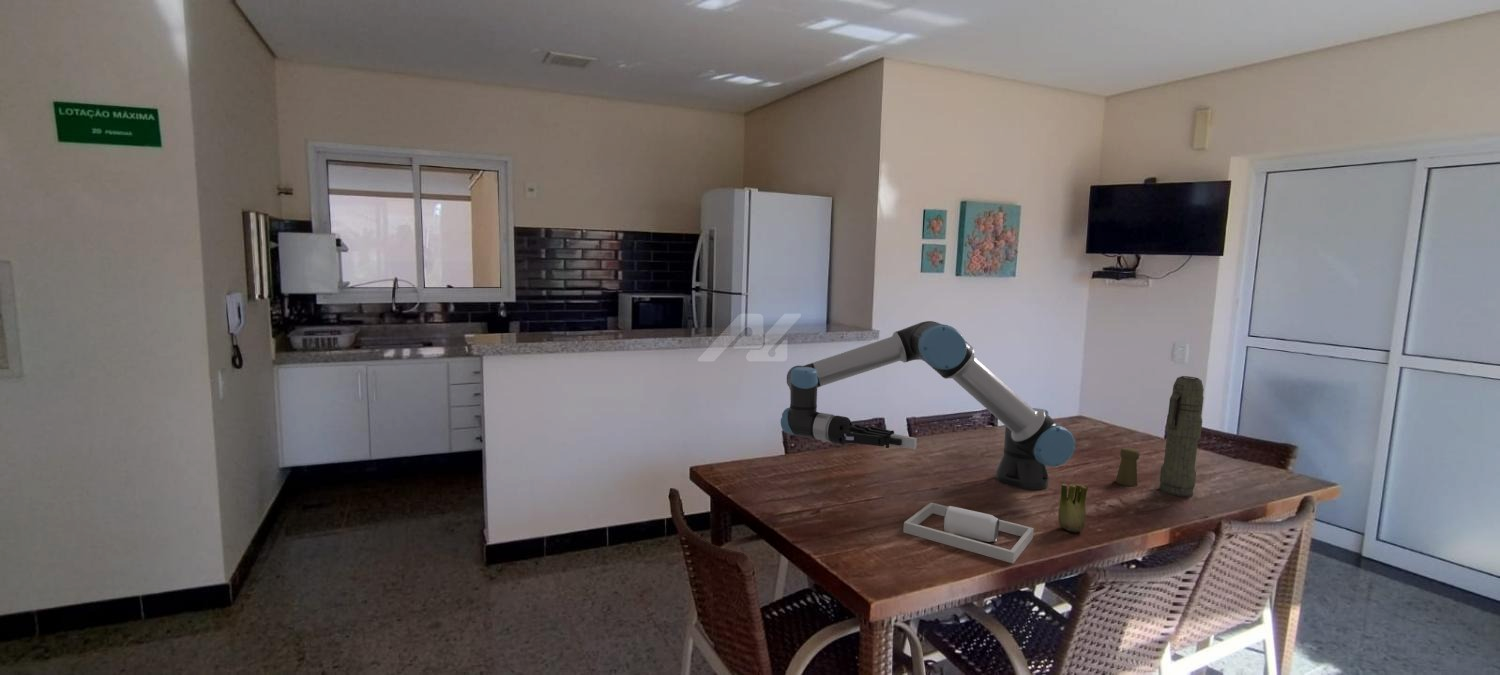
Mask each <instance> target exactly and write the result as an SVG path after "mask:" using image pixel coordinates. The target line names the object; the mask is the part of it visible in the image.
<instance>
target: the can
mask: <svg viewBox="0 0 1500 675" xmlns="http://www.w3.org/2000/svg"><path fill="white" fill-rule="evenodd" d="M943 517H944V518H943V532H947V533H948V532H953V533H954V534H955V535H957V536H961V537H965V538H968V539H972V540H976V541H980V542H984V543H986V542H987V543H991V542H995V543H997V539H998V535H999V531H998V530H999V520H1000V518H997V517H996V516H995V515H992V514H989V513H985V512H980V511H976V510H972V509H971V510H970V509H966V508H962V507H958V506H953V505H948V507H947V509H946V512H945V516H943Z"/></svg>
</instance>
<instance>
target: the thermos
mask: <svg viewBox="0 0 1500 675" xmlns="http://www.w3.org/2000/svg"><path fill="white" fill-rule="evenodd" d="M1172 386H1173V387H1172V394H1171V396H1170V398H1169V404H1168V412H1167V416H1166V427H1165V434H1166V439H1165V440H1166V441H1165V449H1164V458H1163V459H1164V460H1163V463H1162V466H1161V468H1160V474H1159V487H1158V489H1159V490H1160V491H1161V492H1162V491H1163V493H1164V494H1167V493H1168V495H1171V494H1172V496H1175V495H1177V497H1182V496H1186V497H1185V498H1188V497H1189V498H1190V497H1193V496H1194V488H1195V486H1196V479H1197V473H1196V472H1197V471H1196V470H1195V469H1196V462H1197V461H1196V460H1197V451H1198V445H1199V440H1200V438H1201V435H1202V428H1203V427H1202V426H1203V418H1202V413H1203V404H1204V392H1205V391H1204V389H1205V388H1204V385H1203V381H1202V380H1201V379H1200V378H1199V377H1196V376H1195V377H1194V376H1187V375H1180V376H1178V377H1176V379H1175V381H1174V382H1173V385H1172ZM1192 495H1193V496H1192Z"/></svg>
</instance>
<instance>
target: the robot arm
mask: <svg viewBox="0 0 1500 675" xmlns="http://www.w3.org/2000/svg"><path fill="white" fill-rule="evenodd" d="M916 360H917V361H919V360H920V361H923V362H925V363H926V364H927V365H928V366H930V367H931V368H932V369H933V370H934V371H935V372H936V373H938V374H939V375H940V376H941V377H942V378H943V379H945V380H946V379H947V380H948V379H953V380H954V381H955V382H956V383H957V384H958V385H959V386H960V387H961V388H962V389H963V390H965V391H966V392H967V393H968V394H969V395H970V396H972V397H973V398H974V399H975V400H976V401H977V402H978V403H980V404H981V405H982V406H983V407H984V408H985V409H987V411H988V412H990V413H991V414H992V415H993V416H994V417H995V418H996V419H997V420H999V421H1000V422H1001V424H1003V425H1004V426H1005V430H1004V442H1003V445H1004V446H1003V454H1002V457H1001V458H1000V461H999V463H998V466H997V468H996V469H995V479H996V481H998V482H999V483H1001V484H1003V485H1006V486H1008V487H1012V488H1017V489H1021V490H1022V489H1023V490H1043V489H1047V488H1048V487H1049V480H1050V479H1049V475H1048V470H1047V467H1058V466H1062V465H1064V464H1066V463H1067V462H1068V461H1069V460H1070V458H1071V457H1073V454H1074V452H1075V447H1076V440H1075V437H1074V435H1073V434H1072V433H1071V432H1070V430H1069V429H1068V428H1066V427H1064V426H1062V425H1060V424H1059V423H1058V422H1057V421H1056V420H1054V419H1053V418H1052V417H1051V416H1050V415H1049V411H1048V410H1047V409H1044V408H1037V407H1036V408H1035V407H1032V406H1030V405H1029V404H1028V403H1027V402H1026V401H1025V400H1024V399H1023V398H1021V396H1020V395H1018V393H1016V392H1015V391H1013V390H1012V389H1011V388H1010V387H1009V386H1008V385H1007V384H1006V383H1005V382H1003V381H1002V380H1001V379H1000V378H999V377H998V376H997V375H996V374H995V373H994V372H992V371H991V370H990V369H989V368H988V367H987V366H985V365H984V364H983V363H982V362H981V360H979V359H978V358H977V357H975V348H974V347H973V346H972V345H970V344H969V342H967V341H966V340H965V338H964V336H963V335H962V333H961V332H960V331H958V330H957V329H956V328H954V327H953V326H950V325H948V324H942V323H939V322H937V321H933V320H925V321H922V322H919V323H916V324H914V325H913V324H912V325H911V326H908V327H906V328H905V327H904V328H902V329H900V330H897V331H893V333H892V336H889V337H887V338H883V339H880V340H877V341H874V342H872V343H869V344H865V345H861V346H858V347H856V348H853V349H850V350H847V351H843V352H841V353H838V354H835V355H833V356H832V355H831V356H828V357H825V358H822V359H820V360H815V361H814V362H810V363H808V364H805V365H794V366H792V367H791V368H789V370H788V371H787V374H786V384H787V386H788V387H789V388H788V389H789V390H790V395H789V396H790V398H789V399H790V404H789V405H790V406H789V407H787V408H785V409H784V410H783V412H782V413H781V418H780V427H781V430H782V431H783V432H784V433H786V434H788V435H793V436H795V437H800V438H801V437H802V438H807V439H813V440H818V441H821V442H822V443H826V442H828V443H832V444H837V445H841V446H843V445H846V444H859V445H867V446H877V447H884V446H885V449H889V448H890V446H893V447H897V448H904V449H909V450H916V449H917V446H918V445H917V444H918V443H917V442H918V438H917V437H913V436H907V435H902V434H896V433H895V430H889V429H885V428H882V427H877V426H874V425H871V424H869V423H867V424H865V425H862V424H859V423H858V424H857V423H856V424H855V423H854V424H853V423H852V421H851V419H850V418H849V417H847V416H842V415H835V414H833V413H832V414H831V413H824V412H818V411H817V409H818V408H817V407H818V405H817V404H818V403H817V402H818V401H817V400H818V388H820V387H823V386H826V385H829V384H832V383H835V382H838V381H841V380H842V381H843V380H845V379H848V378H851V377H854V376H857V375H859V374H862V373H866V372H869V371H872V370H875V369H878V368H881V367H885V366H888V365H891V364H894V363H897V362H902V363H908V362H910V361H911V362H912V361H916Z"/></svg>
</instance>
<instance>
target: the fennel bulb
mask: <svg viewBox="0 0 1500 675" xmlns="http://www.w3.org/2000/svg"><path fill="white" fill-rule="evenodd" d="M1060 487H1061V489H1060V490H1061V491H1060V492H1061V493H1060V501H1059V506H1058V522H1059V525H1060V527H1061V529H1063V530H1065V531H1068V532H1070V533H1074V534H1075V533H1080V532H1081V531H1083V530H1084V528H1085V527H1086V521H1087V511H1086V498H1087V491H1088V487H1087V486H1085V485H1081V484H1078V483H1076V484H1070V485H1069V488H1068V486H1067V484H1066V483H1061V486H1060Z"/></svg>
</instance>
